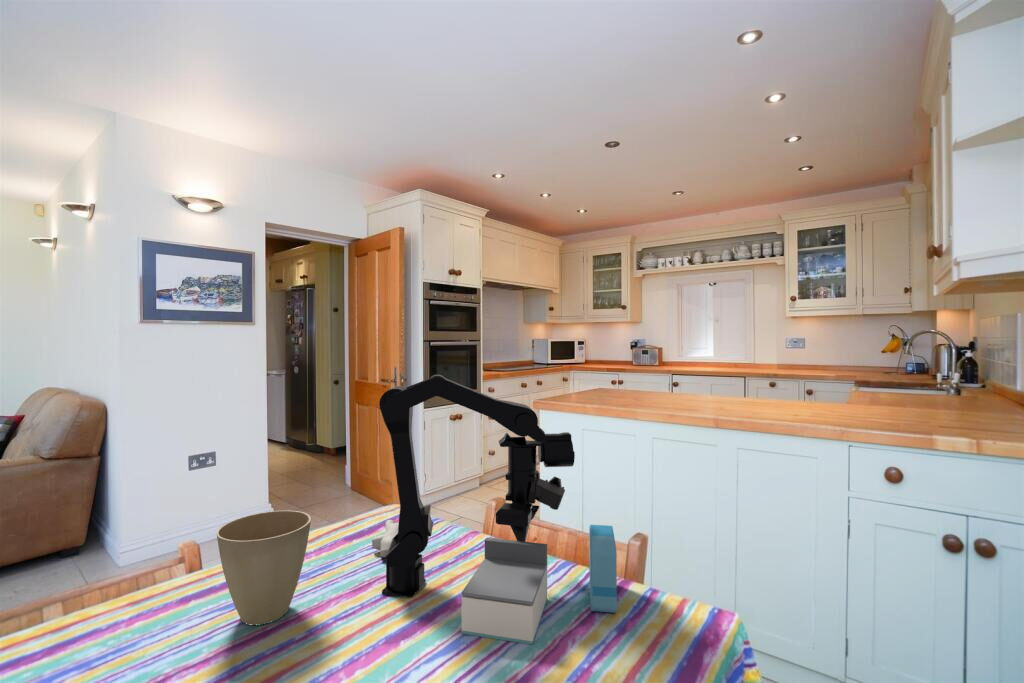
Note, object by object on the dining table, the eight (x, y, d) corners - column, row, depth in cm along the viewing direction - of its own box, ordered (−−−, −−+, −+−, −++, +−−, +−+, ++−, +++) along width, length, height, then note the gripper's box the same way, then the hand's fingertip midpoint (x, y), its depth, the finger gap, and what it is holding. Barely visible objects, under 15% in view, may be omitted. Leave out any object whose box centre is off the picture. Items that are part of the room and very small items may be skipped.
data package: (616, 616, 83) (616, 548, 83) (590, 614, 84) (590, 547, 84) (612, 582, 95) (611, 523, 95) (589, 581, 96) (589, 522, 96)
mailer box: (461, 633, 78) (461, 597, 78) (486, 590, 92) (486, 559, 92) (532, 644, 75) (532, 606, 75) (547, 598, 89) (547, 566, 89)
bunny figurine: (366, 544, 104) (382, 512, 119) (367, 566, 105) (382, 531, 120) (410, 543, 105) (419, 511, 120) (410, 565, 105) (420, 530, 120)
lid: (461, 595, 78) (461, 571, 78) (486, 558, 92) (486, 537, 92) (532, 604, 75) (532, 579, 75) (547, 565, 89) (547, 544, 89)
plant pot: (328, 602, 88) (328, 516, 88) (255, 649, 74) (255, 547, 74) (273, 585, 94) (273, 505, 94) (196, 625, 80) (196, 531, 81)
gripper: (554, 483, 84) (554, 571, 84) (567, 459, 103) (567, 531, 102) (494, 479, 87) (494, 564, 87) (517, 456, 105) (517, 526, 105)
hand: (522, 544), depth 95 cm, fingers closed
